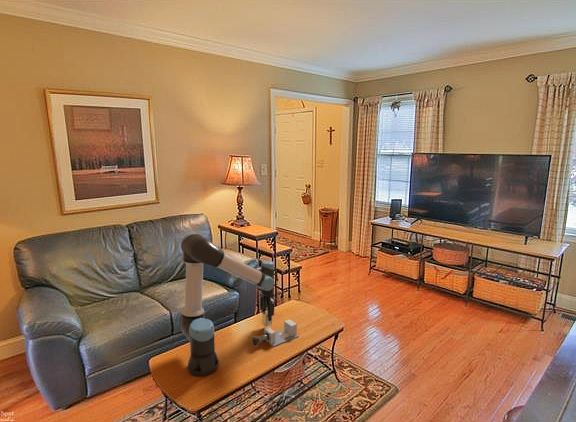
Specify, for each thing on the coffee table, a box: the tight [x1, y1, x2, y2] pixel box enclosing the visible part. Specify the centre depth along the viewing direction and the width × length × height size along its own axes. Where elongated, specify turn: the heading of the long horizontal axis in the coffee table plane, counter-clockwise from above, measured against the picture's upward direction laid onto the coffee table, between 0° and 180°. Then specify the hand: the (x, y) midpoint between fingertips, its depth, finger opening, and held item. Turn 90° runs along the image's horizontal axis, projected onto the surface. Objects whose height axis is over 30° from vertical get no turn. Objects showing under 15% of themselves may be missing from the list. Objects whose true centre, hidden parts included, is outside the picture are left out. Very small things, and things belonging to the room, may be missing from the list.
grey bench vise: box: [263, 319, 299, 348], centre depth 196 cm, size 18×11×7 cm, turn 126°
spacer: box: [261, 311, 273, 327], centre depth 205 cm, size 4×4×7 cm
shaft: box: [251, 333, 269, 347], centre depth 189 cm, size 12×5×5 cm, turn 126°
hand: (266, 323), depth 206 cm, fingers closed on spacer, 4 cm apart
